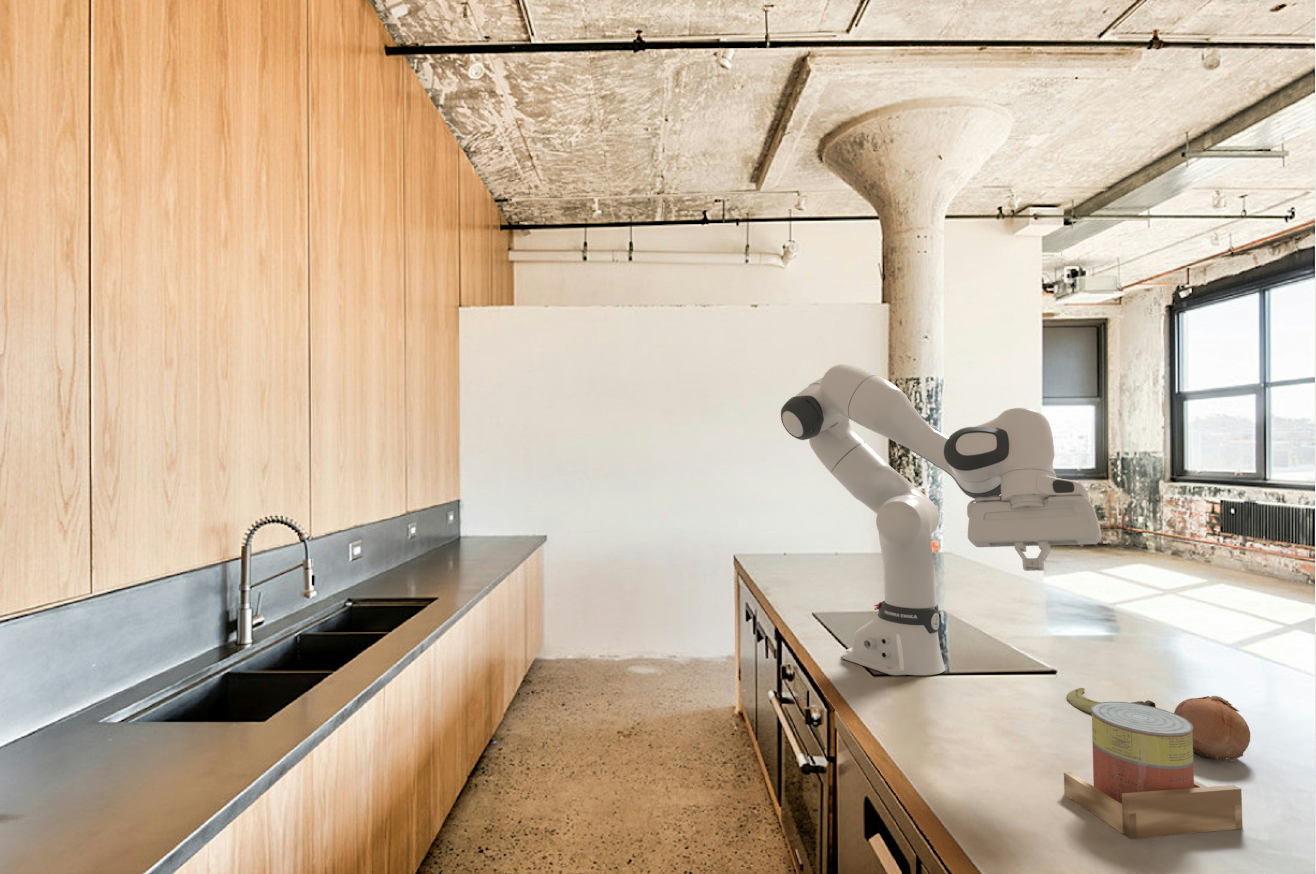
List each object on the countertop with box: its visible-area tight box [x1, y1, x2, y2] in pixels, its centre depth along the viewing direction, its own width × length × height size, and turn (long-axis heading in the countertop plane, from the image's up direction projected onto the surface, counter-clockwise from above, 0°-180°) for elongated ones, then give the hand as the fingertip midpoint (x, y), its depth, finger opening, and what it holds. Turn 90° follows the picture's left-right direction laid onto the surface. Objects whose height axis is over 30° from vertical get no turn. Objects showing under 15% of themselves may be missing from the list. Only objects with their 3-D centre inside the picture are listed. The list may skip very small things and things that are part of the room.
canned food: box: [1091, 701, 1195, 804], centre depth 90 cm, size 11×11×12 cm
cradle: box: [1063, 771, 1244, 839], centre depth 89 cm, size 11×16×5 cm
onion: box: [1173, 695, 1251, 762], centre depth 105 cm, size 10×9×10 cm
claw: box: [1066, 687, 1157, 715], centre depth 123 cm, size 20×10×3 cm, turn 19°
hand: (1033, 569), depth 112 cm, fingers closed
